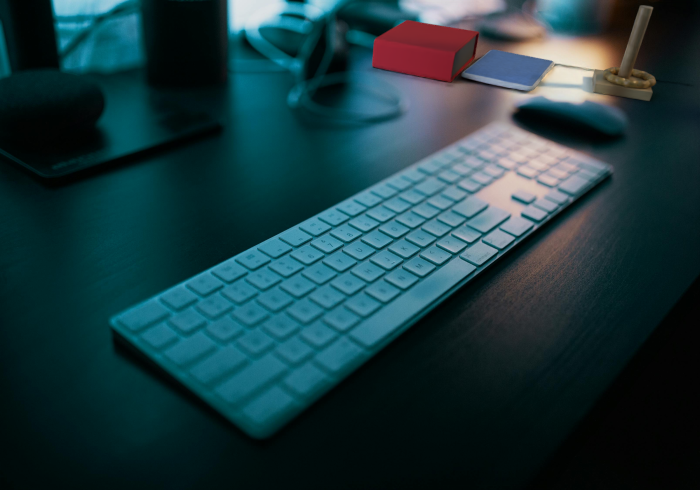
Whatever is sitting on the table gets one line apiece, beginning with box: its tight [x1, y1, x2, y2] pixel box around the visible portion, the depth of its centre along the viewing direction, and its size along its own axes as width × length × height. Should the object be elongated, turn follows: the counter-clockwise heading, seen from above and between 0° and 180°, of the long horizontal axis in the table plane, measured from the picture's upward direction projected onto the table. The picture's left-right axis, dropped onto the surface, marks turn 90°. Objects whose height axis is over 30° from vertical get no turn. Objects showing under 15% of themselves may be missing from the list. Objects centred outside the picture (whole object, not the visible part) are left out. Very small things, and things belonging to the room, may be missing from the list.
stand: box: [592, 5, 654, 102], centre depth 98 cm, size 9×9×14 cm
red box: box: [371, 19, 480, 83], centre depth 106 cm, size 18×14×5 cm
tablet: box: [461, 49, 555, 92], centre depth 105 cm, size 19×13×1 cm, turn 153°
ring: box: [603, 66, 657, 88], centre depth 100 cm, size 8×8×1 cm
